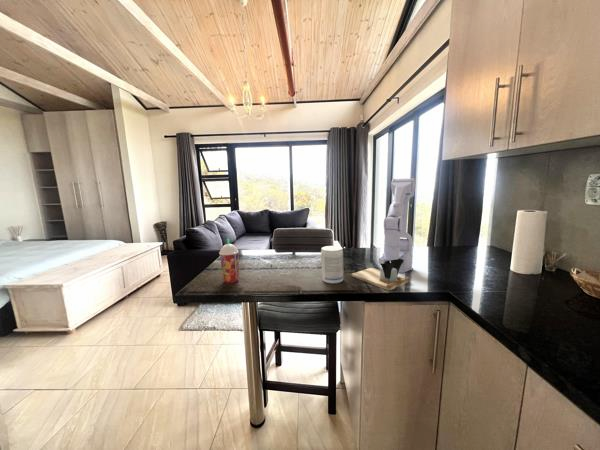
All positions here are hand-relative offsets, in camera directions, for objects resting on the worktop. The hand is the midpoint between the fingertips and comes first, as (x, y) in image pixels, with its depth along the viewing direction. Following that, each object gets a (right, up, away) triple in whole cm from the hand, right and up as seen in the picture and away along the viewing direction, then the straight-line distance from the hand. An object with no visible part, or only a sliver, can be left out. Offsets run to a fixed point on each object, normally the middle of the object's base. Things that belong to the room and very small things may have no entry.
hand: (391, 276), depth 102 cm
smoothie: (-70, -4, +8) cm, 70 cm away
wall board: (-3, -2, +5) cm, 7 cm away
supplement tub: (-24, -3, +6) cm, 25 cm away
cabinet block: (-1, -2, +1) cm, 2 cm away
